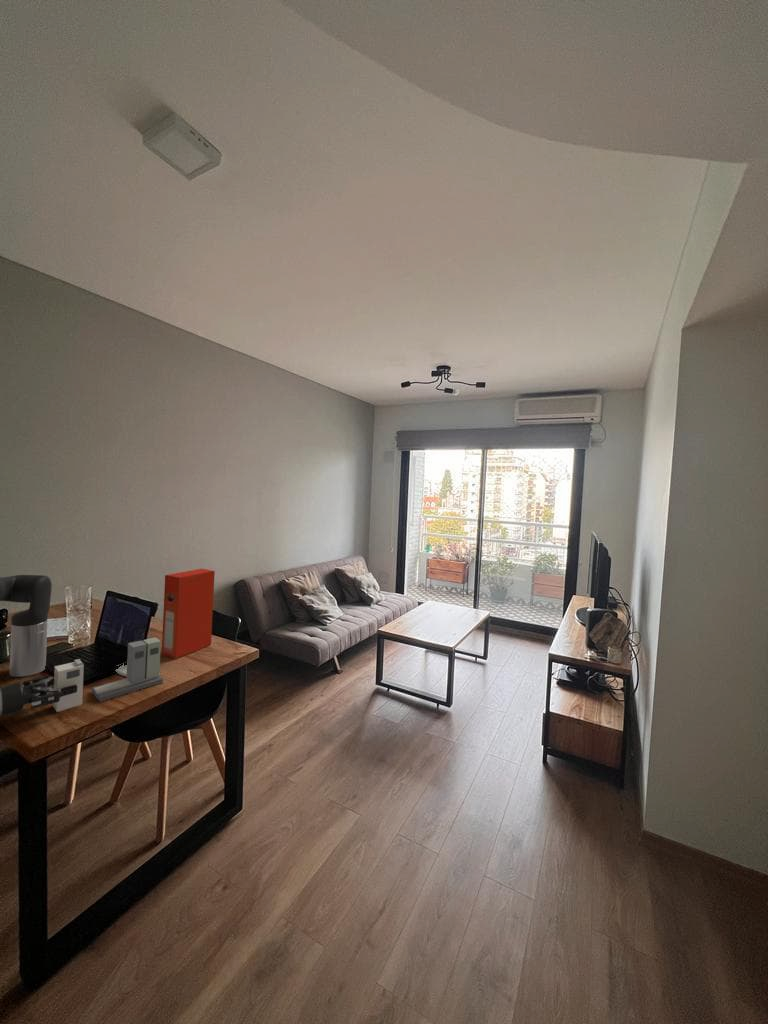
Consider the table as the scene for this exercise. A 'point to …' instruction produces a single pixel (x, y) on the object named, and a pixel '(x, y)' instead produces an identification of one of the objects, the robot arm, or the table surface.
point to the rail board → (135, 670)
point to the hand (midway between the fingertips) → (73, 682)
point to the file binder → (187, 612)
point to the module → (69, 684)
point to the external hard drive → (122, 670)
